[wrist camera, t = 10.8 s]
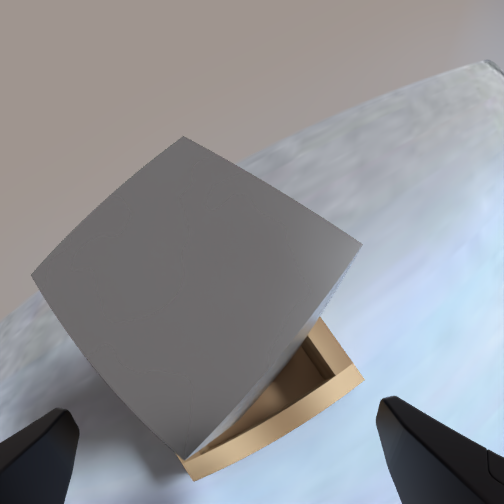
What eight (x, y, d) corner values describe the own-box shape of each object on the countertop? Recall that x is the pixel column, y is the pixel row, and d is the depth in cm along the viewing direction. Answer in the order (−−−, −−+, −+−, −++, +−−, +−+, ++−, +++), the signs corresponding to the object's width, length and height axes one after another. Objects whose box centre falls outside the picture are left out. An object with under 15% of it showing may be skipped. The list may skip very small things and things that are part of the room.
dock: (203, 475, 13) (191, 489, 10) (125, 330, 17) (102, 315, 14) (353, 385, 15) (373, 380, 12) (261, 255, 19) (262, 228, 16)
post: (239, 420, 14) (183, 461, 3) (176, 366, 15) (30, 275, 5) (292, 357, 16) (362, 244, 5) (229, 308, 17) (183, 136, 6)
